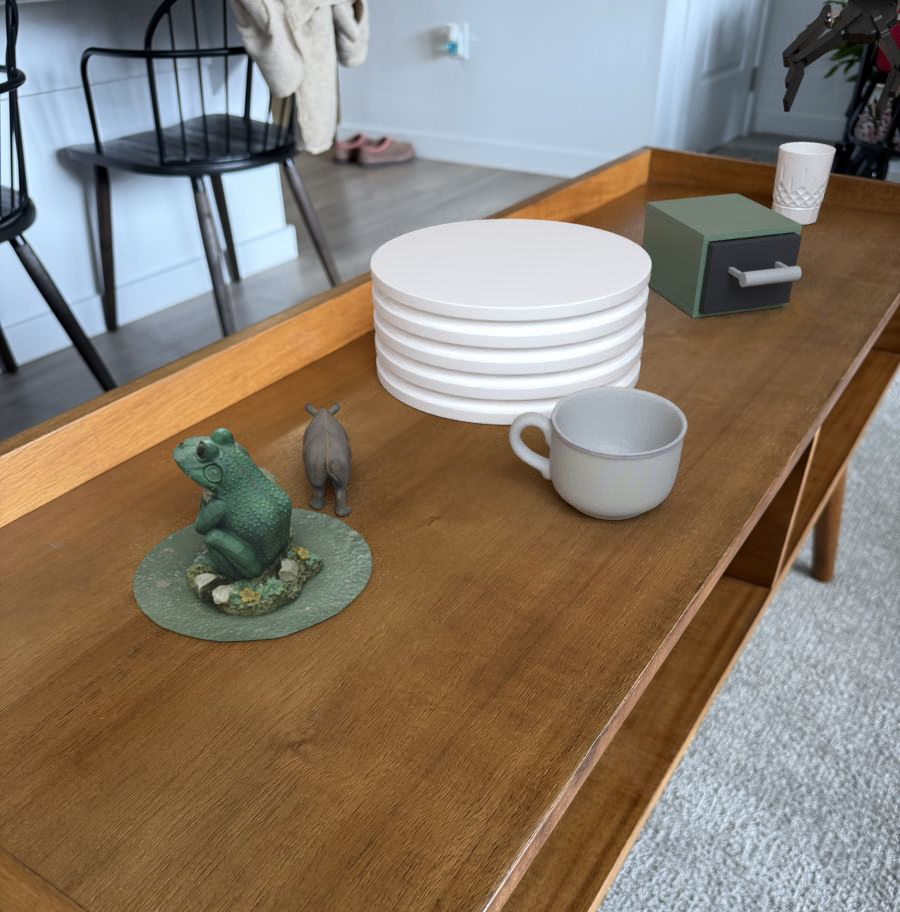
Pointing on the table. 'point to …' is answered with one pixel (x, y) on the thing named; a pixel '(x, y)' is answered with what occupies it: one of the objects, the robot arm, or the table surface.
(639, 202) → the table surface
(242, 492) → the frog figurine
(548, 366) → the plate stack
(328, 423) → the rhino figurine
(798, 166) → the white cup
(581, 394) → the teacup
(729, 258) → the drawer
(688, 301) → the cabinet
